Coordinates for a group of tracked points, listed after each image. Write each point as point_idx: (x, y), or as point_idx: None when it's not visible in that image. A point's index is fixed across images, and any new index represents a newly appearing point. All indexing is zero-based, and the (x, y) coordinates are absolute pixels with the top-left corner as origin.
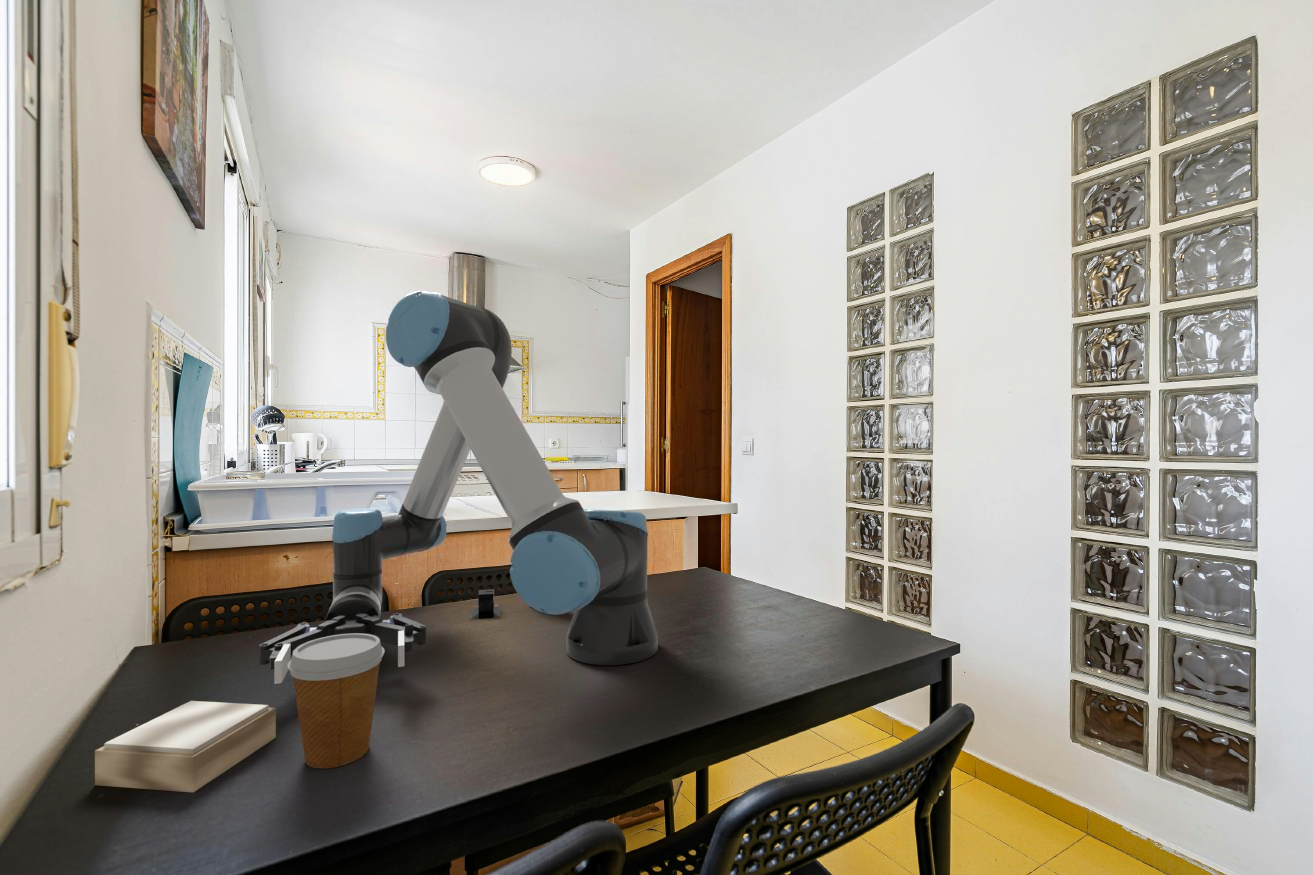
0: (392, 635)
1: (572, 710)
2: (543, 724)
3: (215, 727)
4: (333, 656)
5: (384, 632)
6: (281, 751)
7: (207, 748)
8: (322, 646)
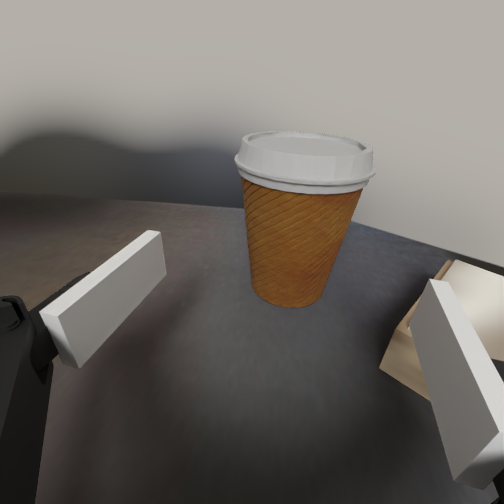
0: (28, 405)
1: (40, 236)
2: (89, 233)
3: (465, 292)
4: (310, 141)
5: (14, 461)
6: (356, 322)
7: (442, 267)
8: (328, 154)
